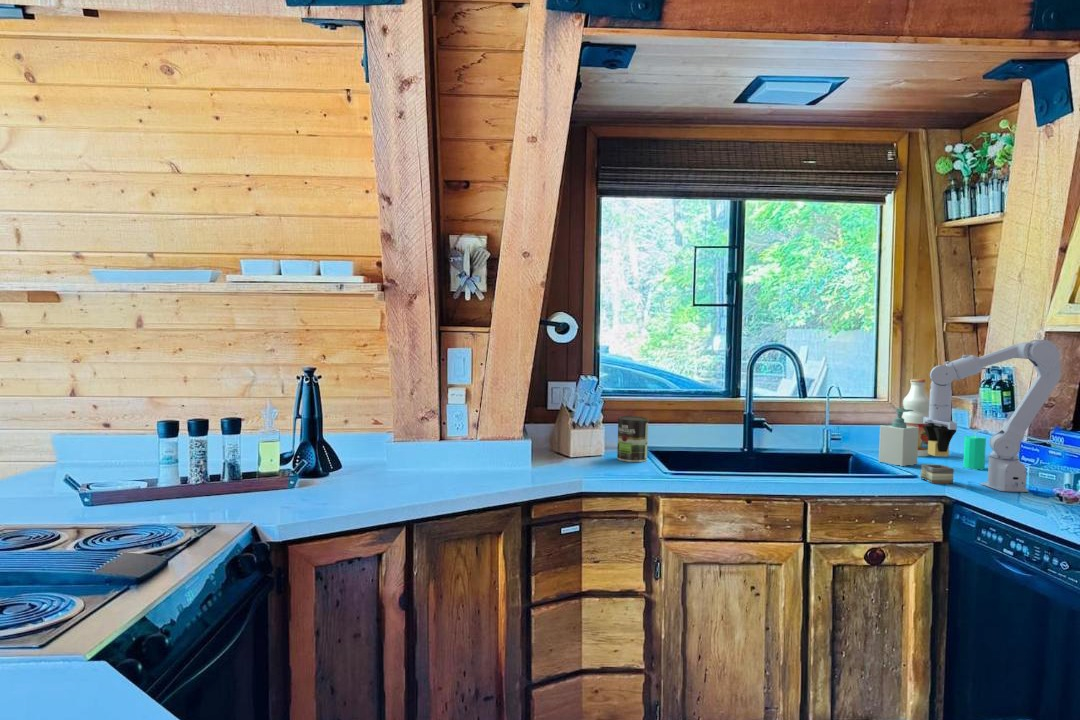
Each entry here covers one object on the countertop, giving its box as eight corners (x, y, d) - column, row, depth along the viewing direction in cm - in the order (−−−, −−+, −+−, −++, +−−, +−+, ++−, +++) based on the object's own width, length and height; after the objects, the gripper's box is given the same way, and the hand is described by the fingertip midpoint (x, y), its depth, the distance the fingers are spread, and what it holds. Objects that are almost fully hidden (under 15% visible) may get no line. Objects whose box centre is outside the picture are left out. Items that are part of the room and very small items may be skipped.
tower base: (953, 483, 203) (953, 468, 203) (931, 483, 203) (932, 468, 203) (941, 479, 209) (941, 464, 209) (920, 478, 209) (921, 464, 209)
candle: (988, 470, 226) (990, 434, 225) (970, 469, 226) (971, 433, 225) (977, 466, 232) (978, 431, 231) (959, 466, 232) (960, 430, 231)
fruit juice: (901, 451, 259) (904, 377, 258) (929, 454, 254) (932, 379, 253) (899, 455, 251) (902, 379, 250) (929, 458, 246) (932, 380, 245)
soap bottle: (902, 467, 228) (905, 410, 227) (878, 462, 236) (880, 407, 235) (917, 464, 233) (920, 409, 232) (893, 460, 240) (895, 406, 239)
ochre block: (948, 456, 204) (949, 443, 204) (934, 456, 204) (935, 442, 204) (941, 454, 208) (941, 440, 208) (927, 453, 208) (928, 440, 208)
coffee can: (636, 463, 225) (637, 421, 225) (610, 459, 232) (611, 418, 231) (653, 459, 233) (654, 418, 232) (627, 455, 240) (628, 415, 239)
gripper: (914, 402, 213) (912, 445, 213) (940, 407, 198) (938, 454, 199) (937, 402, 212) (935, 446, 213) (965, 408, 198) (962, 454, 198)
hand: (938, 450), depth 206 cm, fingers closed on ochre block, 4 cm apart
